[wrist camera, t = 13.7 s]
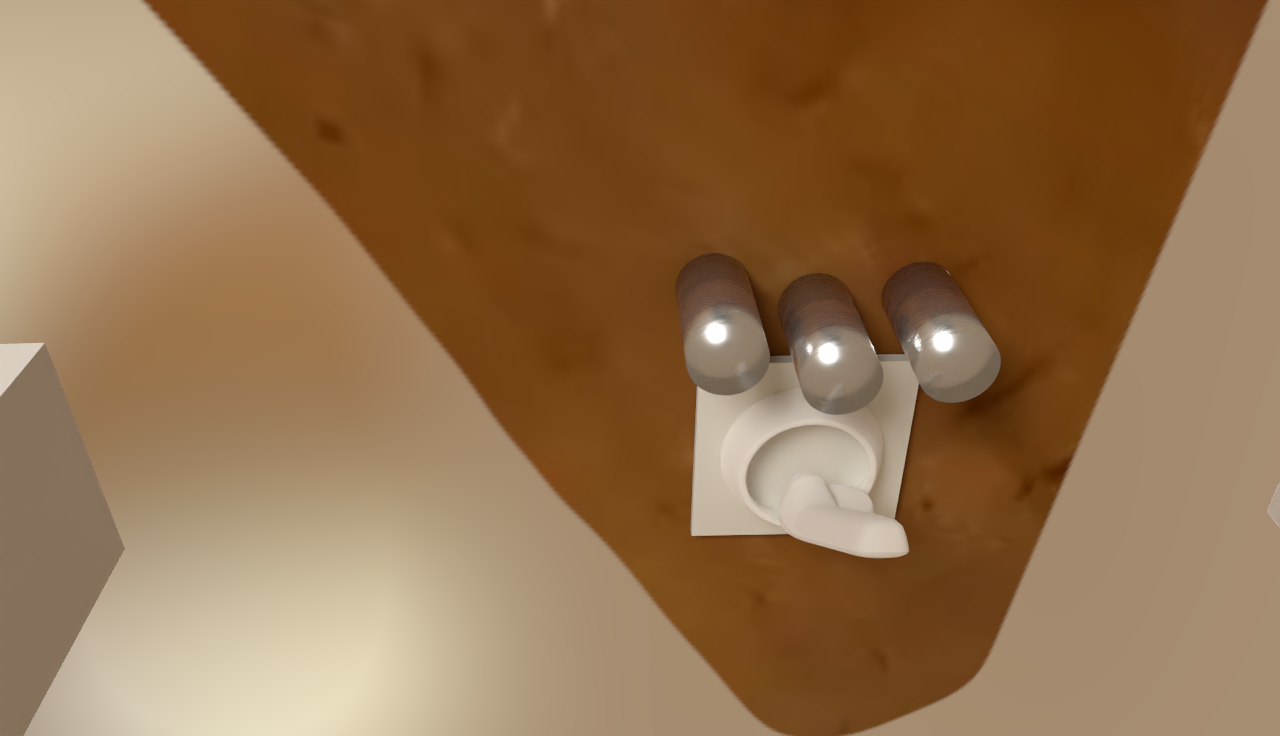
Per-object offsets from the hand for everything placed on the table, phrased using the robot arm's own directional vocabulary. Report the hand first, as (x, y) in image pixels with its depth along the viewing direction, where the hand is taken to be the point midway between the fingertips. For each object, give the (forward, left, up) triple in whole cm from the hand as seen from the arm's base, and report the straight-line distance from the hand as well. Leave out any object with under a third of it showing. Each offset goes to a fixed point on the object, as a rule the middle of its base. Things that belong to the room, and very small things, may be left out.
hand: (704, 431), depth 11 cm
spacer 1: (+14, +4, -31) cm, 34 cm away
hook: (+23, +8, -30) cm, 39 cm away
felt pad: (+23, +8, -31) cm, 39 cm away
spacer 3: (+15, +13, -31) cm, 36 cm away
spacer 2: (+15, +8, -31) cm, 35 cm away
